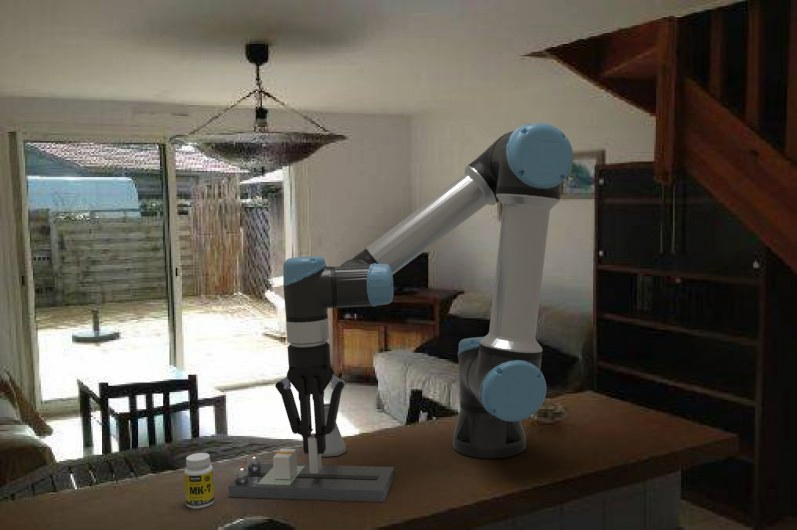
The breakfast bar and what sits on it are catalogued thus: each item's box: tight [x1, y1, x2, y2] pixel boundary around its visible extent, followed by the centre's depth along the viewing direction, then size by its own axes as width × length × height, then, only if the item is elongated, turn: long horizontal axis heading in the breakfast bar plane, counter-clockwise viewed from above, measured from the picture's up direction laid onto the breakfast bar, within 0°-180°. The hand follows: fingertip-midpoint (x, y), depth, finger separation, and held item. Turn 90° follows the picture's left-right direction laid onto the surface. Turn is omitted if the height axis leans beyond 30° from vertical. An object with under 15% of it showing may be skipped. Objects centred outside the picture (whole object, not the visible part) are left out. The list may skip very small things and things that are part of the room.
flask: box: [321, 402, 347, 458], centre depth 143 cm, size 7×7×10 cm
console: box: [228, 453, 395, 503], centre depth 125 cm, size 28×11×5 cm, turn 81°
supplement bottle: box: [184, 452, 215, 510], centre depth 119 cm, size 5×5×8 cm
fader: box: [272, 448, 298, 479], centre depth 126 cm, size 3×4×4 cm
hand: (316, 470), depth 125 cm, fingers closed
